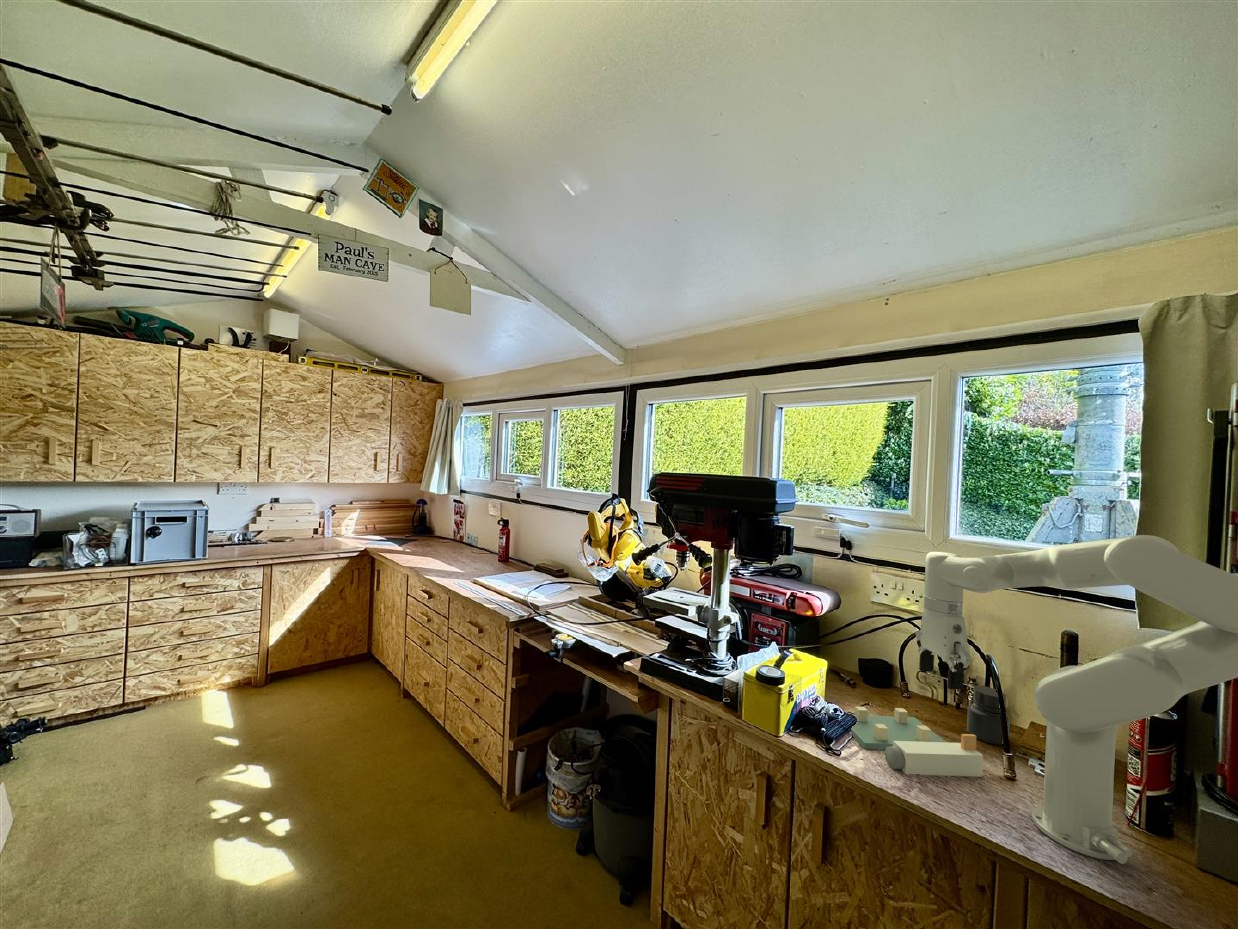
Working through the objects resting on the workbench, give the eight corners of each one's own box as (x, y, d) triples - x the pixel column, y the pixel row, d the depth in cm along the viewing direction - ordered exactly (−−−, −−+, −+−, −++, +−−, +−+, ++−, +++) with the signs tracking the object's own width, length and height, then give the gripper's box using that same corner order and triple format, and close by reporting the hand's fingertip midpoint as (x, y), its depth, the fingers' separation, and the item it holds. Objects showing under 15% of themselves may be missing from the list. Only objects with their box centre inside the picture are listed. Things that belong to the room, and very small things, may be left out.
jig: (951, 752, 119) (952, 733, 119) (864, 749, 118) (865, 730, 118) (914, 722, 133) (914, 706, 133) (836, 719, 132) (836, 703, 132)
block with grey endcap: (982, 777, 109) (983, 741, 109) (897, 775, 108) (898, 738, 108) (965, 764, 114) (966, 729, 114) (883, 762, 113) (885, 726, 113)
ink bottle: (1019, 745, 124) (1021, 698, 125) (995, 749, 121) (998, 701, 122) (979, 725, 133) (981, 682, 134) (957, 729, 131) (959, 685, 131)
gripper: (987, 617, 104) (985, 697, 104) (933, 597, 121) (931, 665, 121) (953, 615, 104) (950, 695, 103) (904, 595, 121) (901, 664, 121)
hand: (940, 679), depth 112 cm, fingers open, 9 cm apart
